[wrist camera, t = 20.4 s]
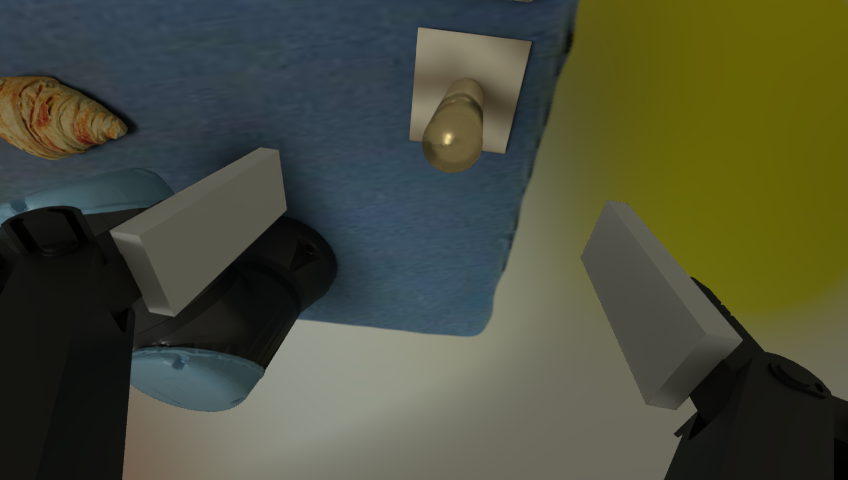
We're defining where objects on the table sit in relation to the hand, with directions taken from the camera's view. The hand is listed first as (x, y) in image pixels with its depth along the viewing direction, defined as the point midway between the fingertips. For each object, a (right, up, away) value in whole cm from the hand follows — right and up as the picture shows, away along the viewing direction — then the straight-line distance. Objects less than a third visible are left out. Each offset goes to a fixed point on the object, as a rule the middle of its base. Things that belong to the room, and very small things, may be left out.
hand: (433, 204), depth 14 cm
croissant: (-49, +15, +31) cm, 60 cm away
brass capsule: (+4, +14, +21) cm, 26 cm away
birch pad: (+4, +14, +22) cm, 27 cm away
